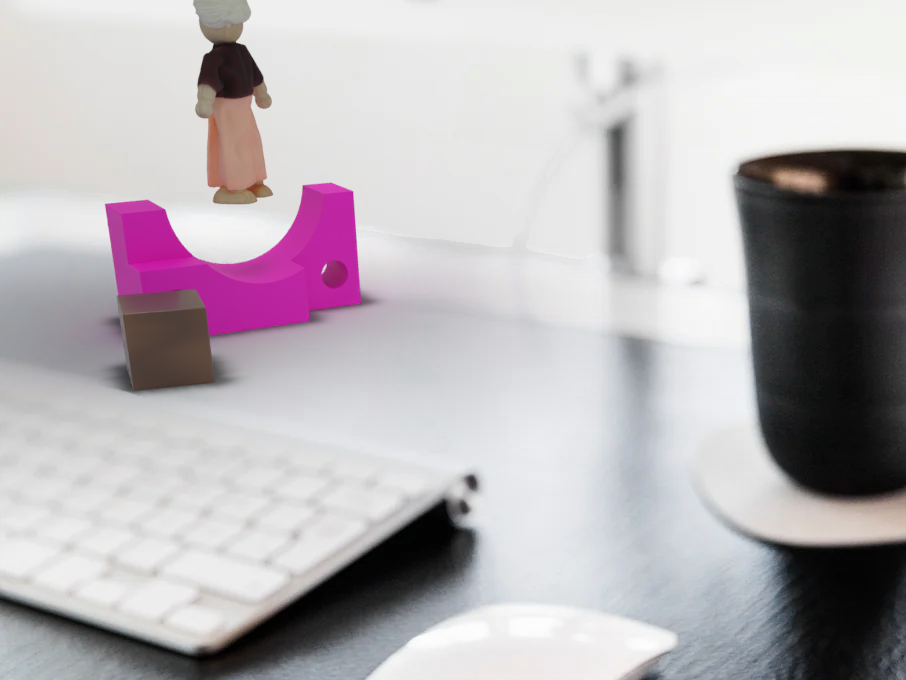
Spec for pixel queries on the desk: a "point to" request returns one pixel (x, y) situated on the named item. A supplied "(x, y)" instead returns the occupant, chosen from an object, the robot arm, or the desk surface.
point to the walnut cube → (165, 339)
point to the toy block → (245, 263)
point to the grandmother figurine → (231, 104)
